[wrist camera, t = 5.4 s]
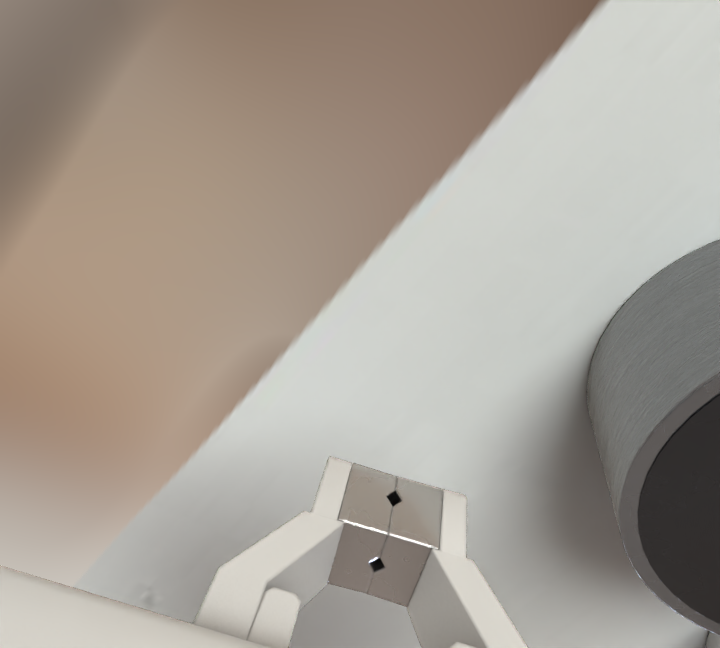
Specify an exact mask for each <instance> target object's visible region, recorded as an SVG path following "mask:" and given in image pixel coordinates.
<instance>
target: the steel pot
mask: <svg viewBox="0 0 720 648" xmlns="http://www.w3.org/2000/svg"><path fill="white" fill-rule="evenodd" d="M587 402H588V411H589V415H590V419H591V423H592V427H593V431H594V434H595V438H596V442H597V446H598V450H599V454H600V458H601V461H602V465H603V469H604V473H605V477H606V481H607V485H608V488H609V492H610V496H611V500H612V504H613V508H614V512H615V515H616V519H617V523H618V527H619V531H620V535H621V539H622V543H623V546H624V550H625V552H626V554H627V556H628V558H629V560H630V563H631V565H632V567H633V568H634V570H635V571H636V573H637V574H638V575H639V577H640V578H641V580H642V581H643V583H644V584H645V585H646V586H647V587H648V588H649V589H650V590H651V591H652V592H653V593H654V594H655V595H656V596H657V597H658V599H660V600H661V601H662V602H663V603H665V604H666V605H667V606H668V607H670V608H671V609H672V610H673V611H675V612H676V613H678V614H679V615H681V616H683V617H684V618H686V619H687V620H689V621H691V622H692V623H694V624H696V625H698V626H700V627H702V628H704V629H706V630H708V631H711V632H713V633H715V634H717V635H720V240H717V241H715V242H712V243H710V244H708V245H706V246H704V247H702V248H699V249H697V250H695V251H693V252H691V253H689V254H687V255H685V256H684V257H682V258H681V259H679V260H677V261H676V262H674V263H672V264H671V265H669V266H668V267H666V268H664V269H663V270H662V271H660V272H659V273H658V274H657V275H655V276H654V277H653V278H651V279H650V280H649V281H648V282H646V283H645V284H644V285H643V286H642V287H641V288H640V289H639V290H638V291H637V292H635V293H634V294H633V295H632V296H631V297H630V298H629V299H628V300H627V301H626V302H625V304H624V305H623V306H622V307H621V309H620V310H619V311H618V313H617V314H616V315H615V316H614V318H613V319H612V320H611V322H610V324H609V325H608V327H607V329H606V330H605V332H604V333H603V335H602V337H601V339H600V341H599V343H598V346H597V348H596V350H595V353H594V355H593V358H592V362H591V366H590V370H589V374H588V384H587Z"/></svg>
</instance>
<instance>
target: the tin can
mask: <svg viewBox="0 0 720 648" xmlns="http://www.w3.org/2000/svg"><path fill="white" fill-rule="evenodd" d="M706 648H720V635H717V634H715V633H713V632H711V631H710V633H709V635H708V637H707V641H706Z"/></svg>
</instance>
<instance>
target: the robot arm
mask: <svg viewBox="0 0 720 648" xmlns="http://www.w3.org/2000/svg"><path fill="white" fill-rule="evenodd" d="M351 466H352V467H351ZM350 470H351V471H350ZM327 583H329V584H333V585H336V586H340V587H344V588H347V589H351V590H355V591H359V592H362V593H366V594H369V595H372V596H375V597H378V598H381V599H385V600H388V601H391V602H394V603H397V604H400V605H403V606H406V607H407V611H408V614H409V616H410V619H411V622H412V624H413V627H414V629H415V632H416V634H417V637H418V639H419V642H420V645H421V647H422V648H528V647H527V645H526V643H525V642H524V640H523V639H522V637H521V635H520V634H519V632H518V631H517V629H516V627H515V626H514V624H513V623H512V621H511V619H510V618H509V616H508V615H507V613H506V612H505V610H504V608H503V607H502V605H501V604H500V602H499V600H498V599H497V597H496V596H495V594H494V592H493V591H492V589H491V588H490V586H489V584H488V583H487V581H486V580H485V578H484V576H483V575H482V573H481V572H480V570H479V568H478V567H477V565H476V564H475V562H474V561H473V560H470V559H467V497H466V495H464V494H460V493H456V492H453V491H449V490H445V489H441V488H437V487H434V486H430V485H426V484H423V483H419V482H416V481H412V480H409V479H405V478H401V477H398V476H394V475H391V474H388V473H384V472H381V471H378V470H375V469H372V468H368V467H365V466H362V465H359V464H356V463H353V464H352V463H351V462H347V461H344V460H341V459H338V458H335V457H332V456H330V457H329V459H328V460H327V463H326V466H325V469H324V472H323V476H322V479H321V482H320V485H319V488H318V491H317V494H316V497H315V500H314V503H313V507H312V510H311V513H310V512H307V511H303V512H301V513H300V514H298V515H297V516H295V517H294V518H292V519H291V520H289V521H288V522H286V523H285V524H283V525H282V526H280V527H279V528H277V529H276V530H274V531H273V532H271V533H270V534H268V535H267V536H265V537H264V538H262V539H261V540H259V541H258V542H256V543H255V544H253V545H252V546H250V547H249V548H247V549H246V550H244V551H243V552H241V553H240V554H238V555H237V556H235V557H234V558H232V559H231V560H229V561H228V562H226V563H225V564H223V565H222V566H220V567H219V568H218V570H217V572H216V574H215V576H214V578H213V581H212V583H211V585H210V587H209V589H208V591H207V594H206V596H205V598H204V600H203V602H202V604H201V607H200V609H199V611H198V613H197V615H196V617H195V620H194V622H193V624H191V623H188V622H185V621H181V620H178V619H175V618H171V617H168V616H165V615H162V614H158V613H155V612H152V611H148V610H145V609H142V608H139V607H135V606H132V605H129V604H125V603H122V602H119V601H116V600H112V599H109V598H106V597H102V596H99V595H96V594H93V593H89V592H86V591H83V590H79V589H76V588H73V587H70V586H66V585H63V584H60V583H56V582H53V581H50V580H47V579H43V578H40V577H37V576H33V575H30V574H27V573H23V572H20V571H17V570H14V569H10V568H7V567H4V566H1V565H0V648H289V644H290V641H291V637H292V633H293V630H294V626H295V622H296V618H297V615H298V612H299V611H300V610H301V609H302V608H303V607H304V606H305V605H306V604H307V603H308V602H309V601H310V600H312V599H313V598H314V597H315V596H316V595H317V594H318V593H319V592H320V591H321V590H322V589H323V588H324V587H325V586H326V585H327Z"/></svg>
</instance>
